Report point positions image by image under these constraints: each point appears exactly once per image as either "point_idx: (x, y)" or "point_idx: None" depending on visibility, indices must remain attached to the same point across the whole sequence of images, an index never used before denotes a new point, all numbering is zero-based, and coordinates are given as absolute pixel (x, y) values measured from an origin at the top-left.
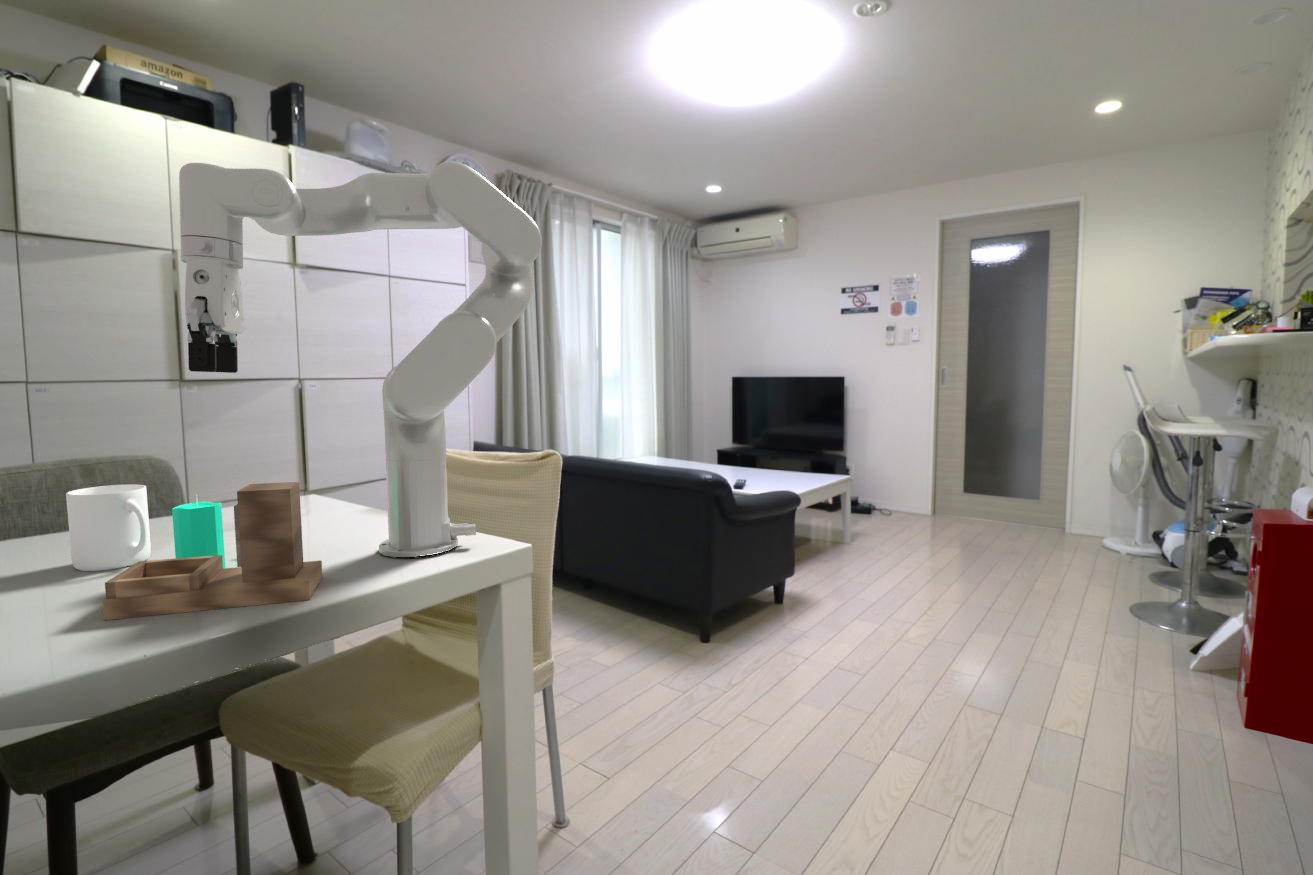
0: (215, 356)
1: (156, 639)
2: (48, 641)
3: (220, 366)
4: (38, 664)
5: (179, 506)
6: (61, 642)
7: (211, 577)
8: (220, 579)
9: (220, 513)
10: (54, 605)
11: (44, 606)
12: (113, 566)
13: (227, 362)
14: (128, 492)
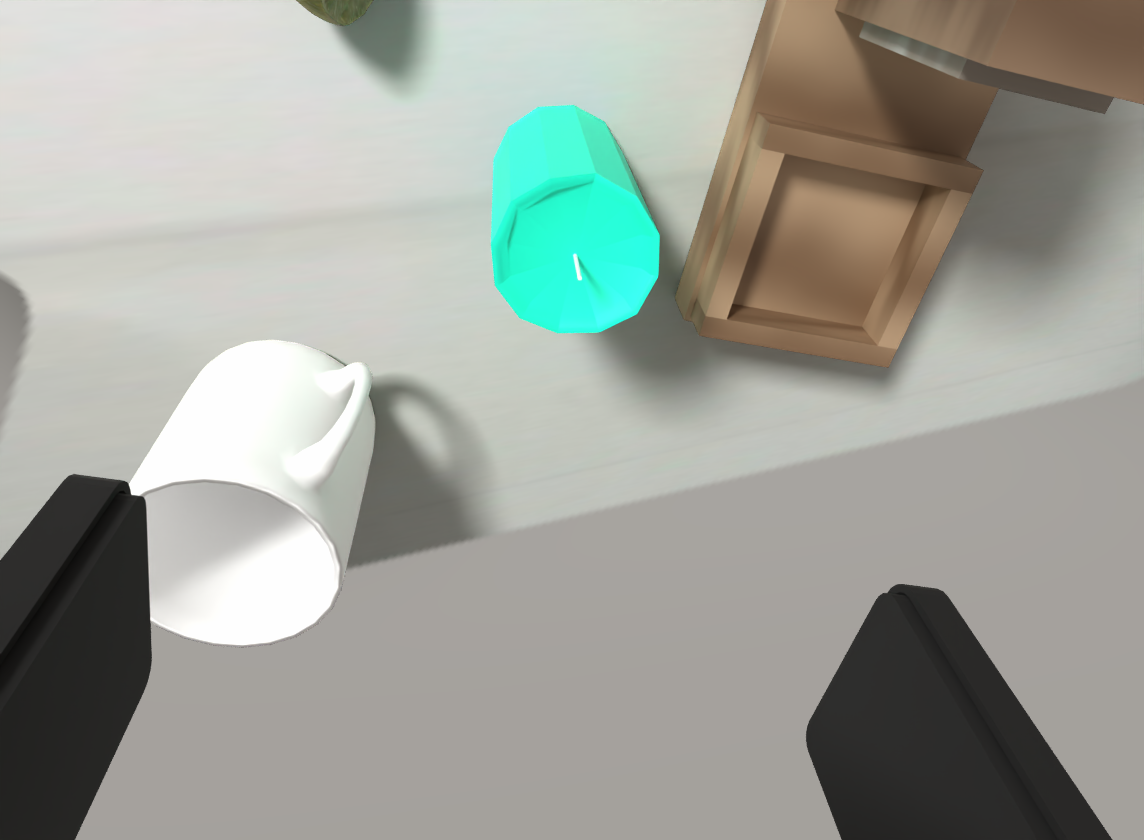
0: (1013, 715)
1: (1083, 210)
2: (926, 391)
3: (129, 667)
4: (1054, 374)
5: (538, 317)
6: (951, 370)
7: (864, 136)
8: (882, 110)
9: (599, 168)
10: (662, 439)
11: (658, 454)
12: (371, 403)
13: (93, 652)
14: (300, 502)
